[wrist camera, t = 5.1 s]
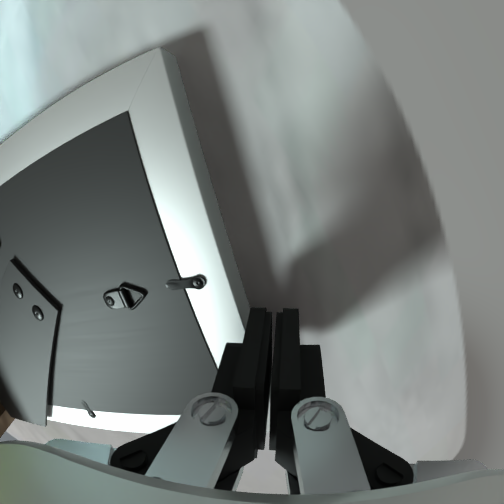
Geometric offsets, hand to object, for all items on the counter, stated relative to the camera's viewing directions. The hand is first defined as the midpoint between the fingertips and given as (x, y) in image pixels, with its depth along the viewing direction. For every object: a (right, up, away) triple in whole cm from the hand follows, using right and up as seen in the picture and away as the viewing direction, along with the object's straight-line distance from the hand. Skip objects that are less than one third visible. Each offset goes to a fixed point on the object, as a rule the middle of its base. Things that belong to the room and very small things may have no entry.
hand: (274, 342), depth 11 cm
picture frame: (-11, +1, +3) cm, 12 cm away
